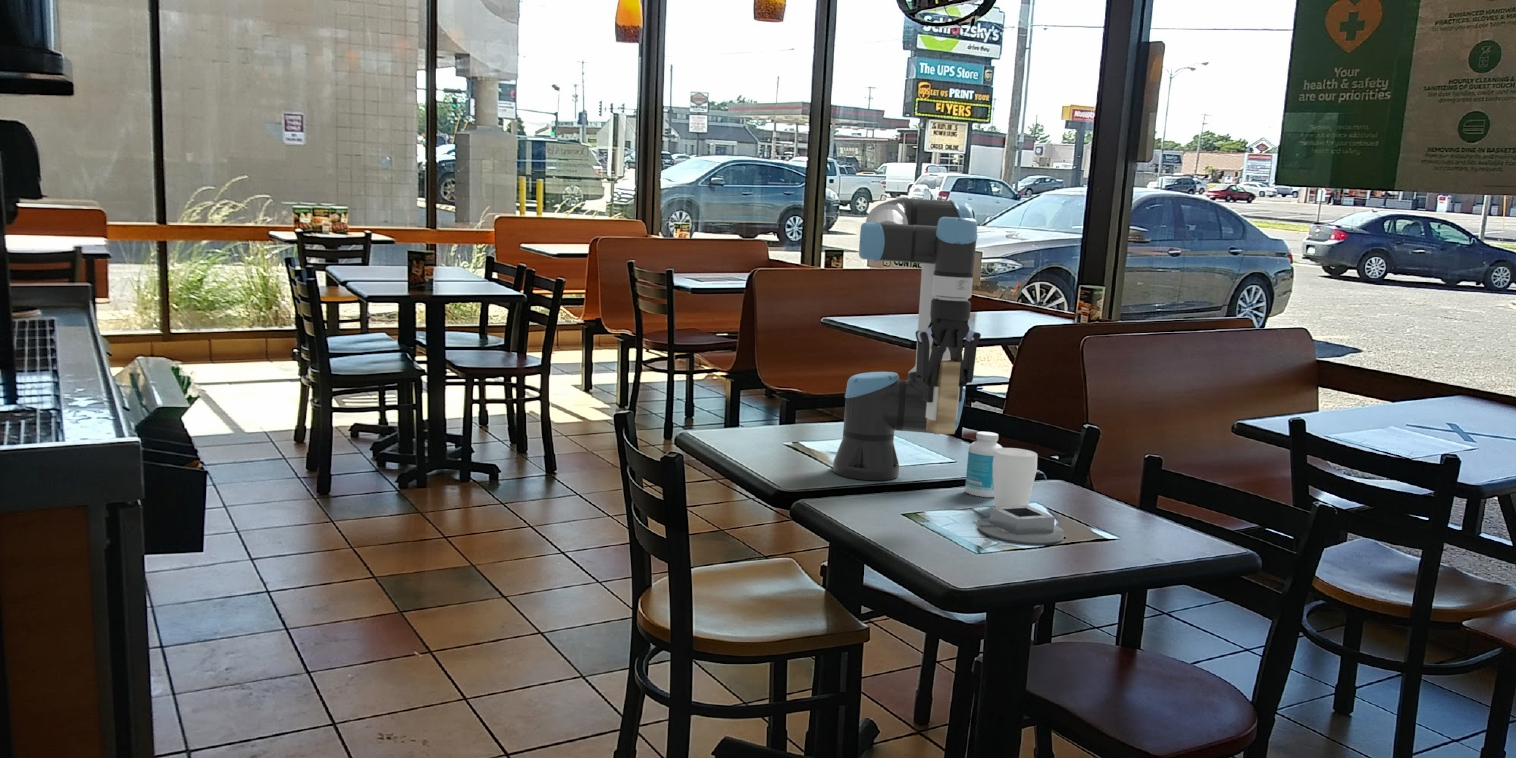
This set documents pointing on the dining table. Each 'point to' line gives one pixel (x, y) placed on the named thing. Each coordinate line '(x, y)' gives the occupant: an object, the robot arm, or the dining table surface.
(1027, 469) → the cup
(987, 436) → the pill bottle
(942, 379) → the tan wooden block
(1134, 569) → the dining table surface
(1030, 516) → the square tray on disc
